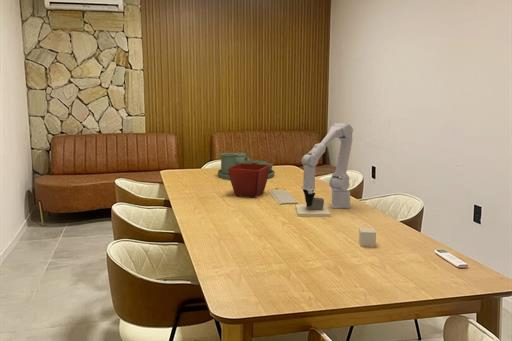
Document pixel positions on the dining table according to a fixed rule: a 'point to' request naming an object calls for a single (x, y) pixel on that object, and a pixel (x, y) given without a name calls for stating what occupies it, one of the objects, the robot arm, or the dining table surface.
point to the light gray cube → (367, 237)
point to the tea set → (237, 158)
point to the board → (312, 211)
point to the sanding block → (316, 204)
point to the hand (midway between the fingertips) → (308, 204)
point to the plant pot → (249, 179)
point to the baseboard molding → (282, 197)
